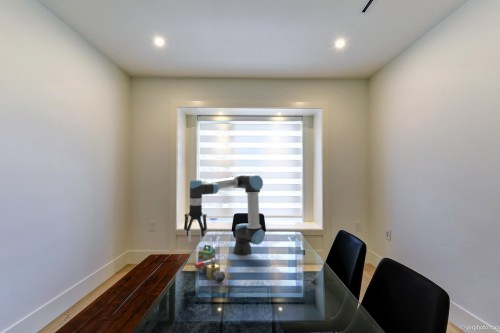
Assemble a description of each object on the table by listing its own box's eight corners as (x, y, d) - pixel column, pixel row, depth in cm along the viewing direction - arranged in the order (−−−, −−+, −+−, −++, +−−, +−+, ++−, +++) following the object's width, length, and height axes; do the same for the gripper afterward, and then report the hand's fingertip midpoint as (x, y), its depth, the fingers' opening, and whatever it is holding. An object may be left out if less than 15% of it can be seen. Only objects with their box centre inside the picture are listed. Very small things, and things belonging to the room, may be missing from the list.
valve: (201, 273, 146) (201, 260, 146) (210, 270, 150) (210, 257, 150) (215, 284, 132) (216, 269, 132) (225, 281, 136) (225, 266, 136)
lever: (214, 261, 143) (214, 257, 143) (217, 263, 140) (217, 259, 140) (194, 267, 135) (194, 262, 135) (196, 269, 132) (196, 264, 132)
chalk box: (197, 268, 152) (197, 247, 153) (203, 263, 161) (203, 243, 161) (209, 270, 150) (209, 248, 150) (215, 265, 159) (215, 244, 159)
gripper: (178, 205, 137) (177, 242, 137) (209, 206, 135) (208, 243, 135) (183, 203, 145) (182, 238, 144) (212, 204, 143) (212, 240, 142)
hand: (195, 241), depth 140 cm, fingers open, 7 cm apart
